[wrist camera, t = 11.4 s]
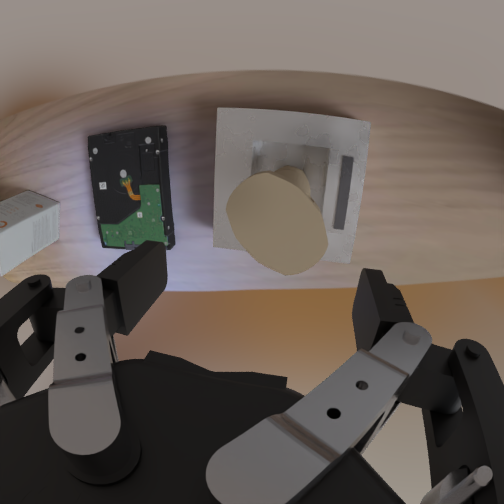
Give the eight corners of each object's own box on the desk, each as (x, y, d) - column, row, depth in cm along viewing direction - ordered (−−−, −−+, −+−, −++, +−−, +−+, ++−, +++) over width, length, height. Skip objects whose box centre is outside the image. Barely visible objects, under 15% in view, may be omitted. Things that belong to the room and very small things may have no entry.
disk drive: (98, 134, 35) (112, 242, 40) (85, 136, 32) (101, 249, 38) (169, 124, 33) (178, 244, 38) (158, 124, 30) (170, 253, 36)
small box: (28, 224, 42) (-28, 256, 30) (28, 189, 39) (-33, 215, 27) (60, 240, 41) (1, 278, 30) (61, 202, 39) (-4, 233, 27)
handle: (293, 217, 33) (281, 288, 19) (252, 171, 32) (209, 210, 18) (328, 189, 31) (344, 243, 17) (288, 141, 30) (271, 155, 16)
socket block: (229, 109, 31) (216, 107, 26) (362, 122, 29) (371, 121, 24) (223, 232, 36) (212, 247, 32) (345, 246, 34) (349, 264, 30)
